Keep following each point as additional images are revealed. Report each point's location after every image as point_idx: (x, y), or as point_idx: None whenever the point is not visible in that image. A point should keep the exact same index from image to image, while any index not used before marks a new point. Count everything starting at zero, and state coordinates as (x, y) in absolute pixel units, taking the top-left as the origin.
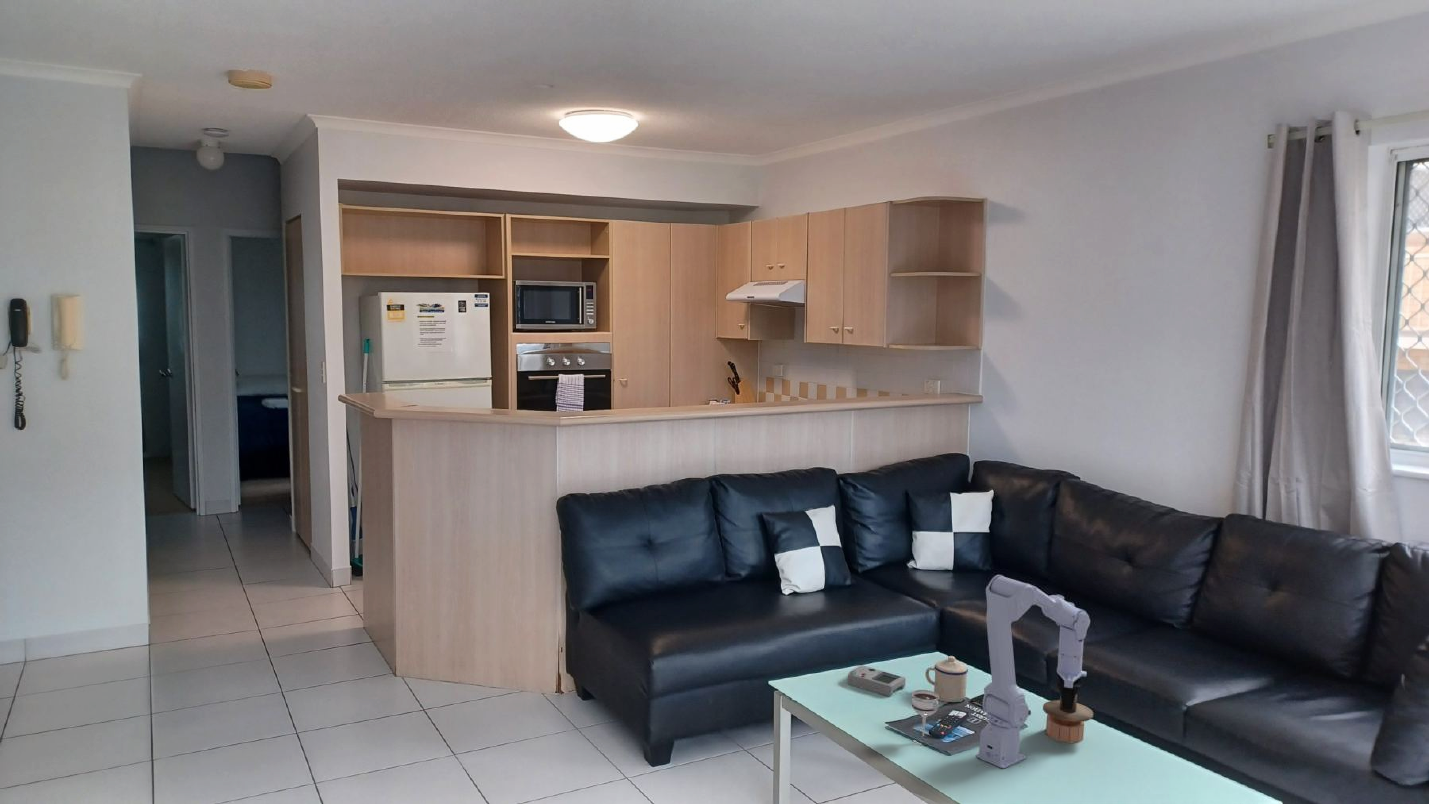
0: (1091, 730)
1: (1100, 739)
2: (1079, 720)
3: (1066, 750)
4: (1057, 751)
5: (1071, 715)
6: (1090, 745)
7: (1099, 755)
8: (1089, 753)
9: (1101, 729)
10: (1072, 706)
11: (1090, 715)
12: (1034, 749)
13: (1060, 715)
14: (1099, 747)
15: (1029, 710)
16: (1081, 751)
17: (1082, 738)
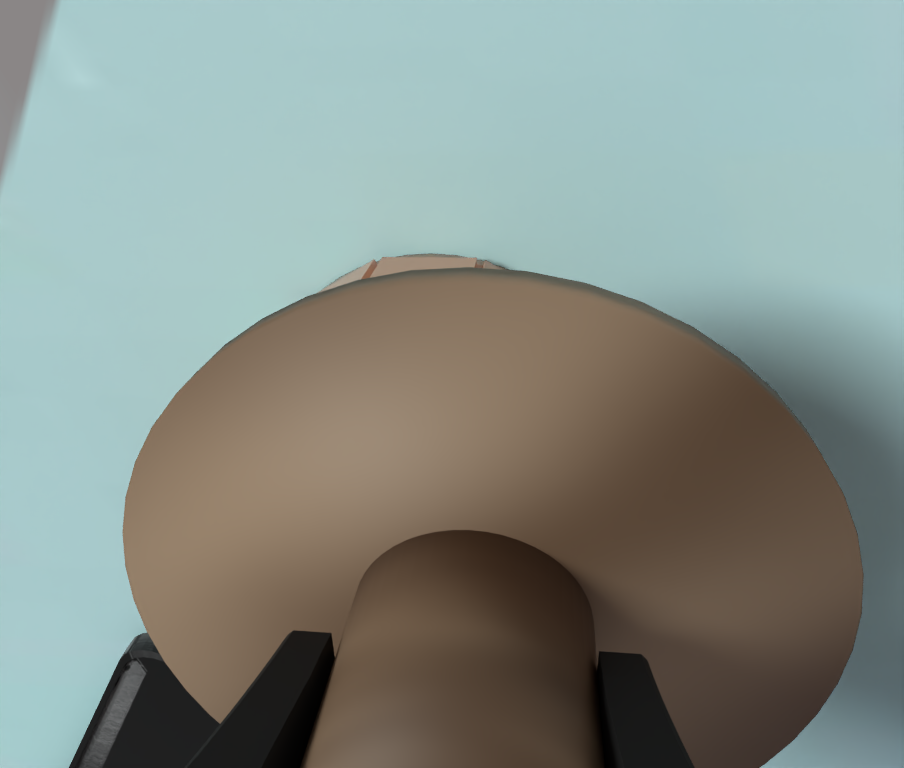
0: (177, 167)
1: (374, 61)
2: (838, 490)
3: (813, 405)
4: (859, 477)
5: (704, 597)
6: (600, 176)
7: (868, 67)
8: (835, 186)
9: (75, 52)
10: (658, 696)
11: (588, 330)
12: (860, 629)
13: (749, 711)
14: (620, 70)
15: (131, 656)
16: (800, 269)
17: (492, 267)
